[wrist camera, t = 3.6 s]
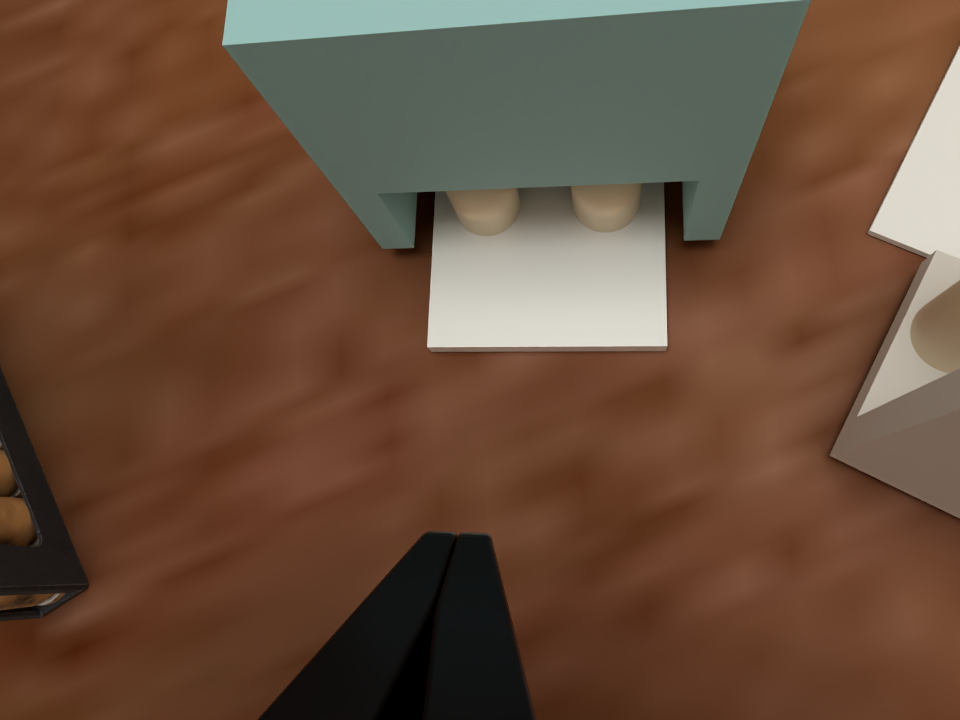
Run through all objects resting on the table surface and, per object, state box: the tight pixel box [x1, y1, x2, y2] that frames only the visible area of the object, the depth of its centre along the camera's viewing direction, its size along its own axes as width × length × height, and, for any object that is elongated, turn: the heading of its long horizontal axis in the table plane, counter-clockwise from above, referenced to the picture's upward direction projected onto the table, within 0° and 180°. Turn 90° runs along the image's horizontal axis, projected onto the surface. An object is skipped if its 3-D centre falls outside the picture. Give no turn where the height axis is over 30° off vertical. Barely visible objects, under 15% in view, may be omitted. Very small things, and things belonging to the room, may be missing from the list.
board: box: [427, 182, 667, 352], centre depth 22 cm, size 12×7×3 cm, turn 178°
